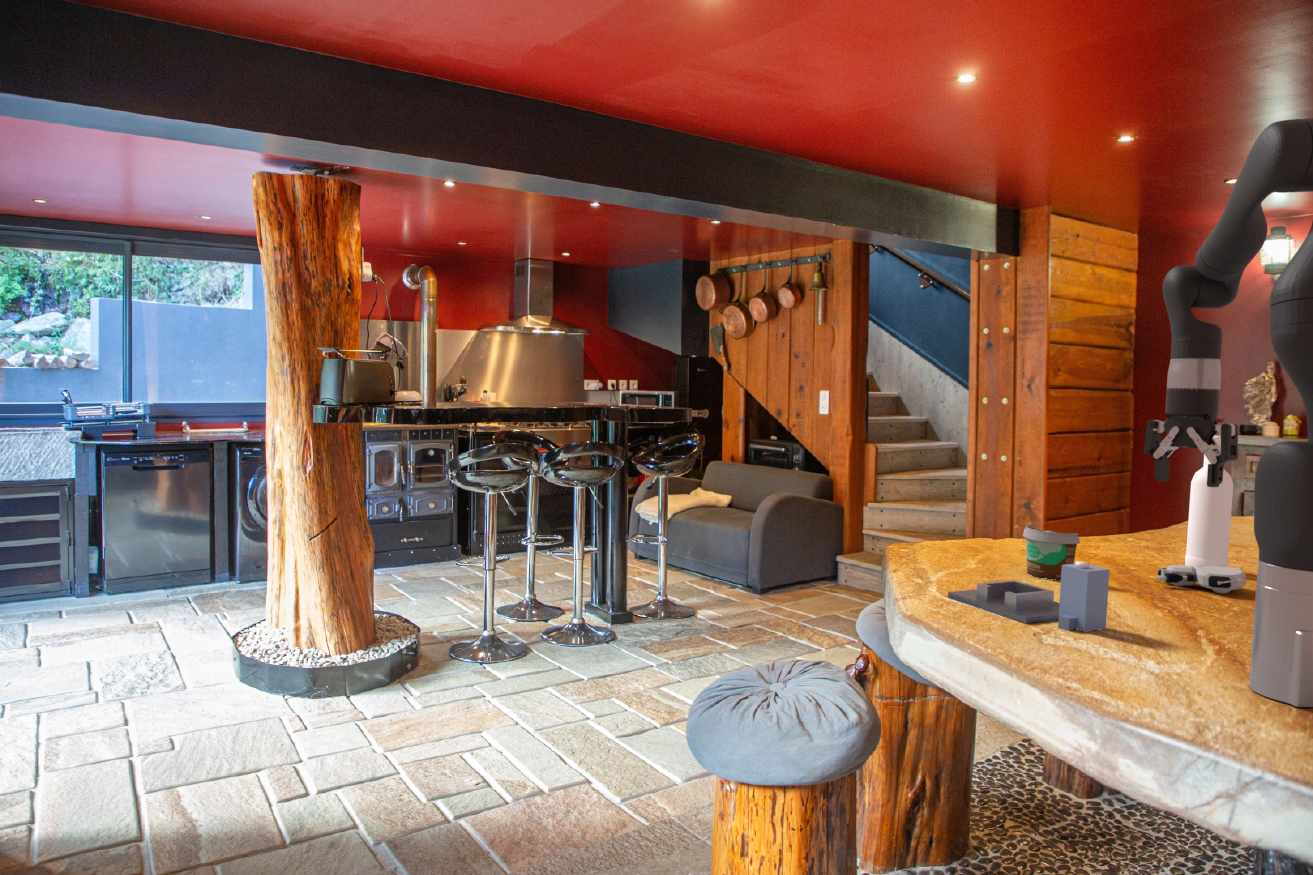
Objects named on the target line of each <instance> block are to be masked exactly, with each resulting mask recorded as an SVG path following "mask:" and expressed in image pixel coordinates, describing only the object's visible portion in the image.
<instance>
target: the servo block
mask: <svg viewBox="0 0 1313 875" xmlns="http://www.w3.org/2000/svg"><path fill="white" fill-rule="evenodd" d="M1109 579H1110V569H1109V568H1105V567H1101V566H1098V565H1093V564H1090V562H1087V561H1082V560H1081V561H1080V560H1079V561H1075V562H1074V564H1067V565H1062V571H1061V581H1060V586H1059V587H1060V589H1059V603H1060V604H1059V620H1057V621H1058V622H1057V624H1058V625H1057V627H1059V628H1058V629H1062V630H1064V629H1066V630H1065V631H1067V630H1071V631H1074V630H1073V629H1078V630H1081V631H1083V632H1082V633H1088V632H1087V631H1091V632H1093V631H1092V630H1098V631H1100V630H1099V629H1105V630H1106V628H1107V613H1108V598H1109V597H1108V596H1109V583H1110V582H1109V581H1110V580H1109ZM1078 630H1077V631H1078ZM1081 631H1080V632H1081Z"/></svg>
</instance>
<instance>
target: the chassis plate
mask: <svg viewBox="0 0 1313 875" xmlns="http://www.w3.org/2000/svg"><path fill="white" fill-rule="evenodd" d="M947 598H948V599H951V600H954V601H957V602H961V603H963V604H966V605H969V606H973V607H975V608H978V609H980V608H982V609H981V610H983V609H985V610H984V611H986V610H987V611H986V612H990V613H992V612H994V613H993V614H995V613H996V615H998V614H999V616H1002V617H1004V616H1006V617H1005V618H1007V617H1008V619H1010V618H1011V619H1010V620H1013V621H1016V622H1019V621H1021V622H1020V623H1022V622H1023V623H1022V624H1025V623H1028V624H1034V623H1033V622H1036V623H1042V622H1041V621H1044V622H1050V621H1057V620H1056V619H1059V604H1060V602H1057V601H1054V600H1055V599H1054V598H1055V591H1054V590H1050V589H1047V588H1045V587H1044V588H1043V587H1041V586H1040V587H1039V586H1037V585H1033V584H1028V583H1026V582H1022V581H1018V580H1015V579H1010V580H1008V579H1007V580H999V581H988V582H987V581H986V582H980V583H979V582H977V583H976V589H975V588H974V589H968V590H967V589H965V590H956V591H955V590H954V591H948V592H947Z"/></svg>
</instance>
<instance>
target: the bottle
mask: <svg viewBox="0 0 1313 875" xmlns="http://www.w3.org/2000/svg"><path fill="white" fill-rule="evenodd" d="M1213 438H1214V439H1215V441H1216V442H1217V444H1218V445H1219V447H1220V451H1221V437H1220V436H1219V435H1215V436H1214V437H1213ZM1208 464H1211V463H1210V462H1209V460H1208V459H1207V457H1206V456H1205V454H1204V453H1203V466H1202V467H1201V468H1200V469H1198V470H1197V471H1196V472H1194V475H1193V477H1192V479H1191V482H1190V492H1189V494H1190V495H1189V507H1188V509H1189V510H1188V520H1187V521H1188V522H1187V533H1186V534H1187V537H1186V538H1187V539H1186V550H1185V551H1186V552H1185V557H1184V563H1185V564H1184V565H1187V566H1193V567H1194V568H1195V569H1196V570H1198V569H1199V568H1201V567H1204V566H1220V567H1229V552H1230V538H1231V537H1230V536H1231V524H1232V523H1231V521H1232V508H1233V507H1232V506H1233V494H1234V482H1233V478H1232V476H1231V474H1230V473H1229V472H1227V470H1225V468H1224V469H1223V481H1222V483H1221V484H1219V487H1208V486H1207V473H1208Z"/></svg>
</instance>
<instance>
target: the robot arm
mask: <svg viewBox="0 0 1313 875" xmlns="http://www.w3.org/2000/svg"><path fill="white" fill-rule="evenodd" d="M1308 192H1309V193H1310V192H1313V117H1312V118H1292V119H1284V120H1279V121H1278V120H1277V121H1274V122H1272V123H1270V124H1269V125H1267V127H1265V128H1264V129H1263V130H1262V131H1261V133H1260V134H1259V136H1258V137H1257V138H1256V140H1255V141H1254V142H1253V145H1252V146H1251V148H1250V150H1249V152H1248V154H1247V156H1246V159H1245V161H1244V163H1243V165H1242V168H1241V170H1240V173H1239V175H1238V177H1237V179H1236V182H1235V184H1234V186H1233V188H1232V190H1231V193H1230V195H1229V198H1228V201H1227V203H1226V205H1225V207H1224V210H1223V212H1222V214H1221V216H1220V217H1219V219H1218V221H1217V223H1216V224H1215V226H1214V227H1213V229H1212V230H1211V231H1210V233H1209V234H1208V236H1207V237H1206V238H1205V240H1204V241H1203V242H1202V244H1201V246H1200V247H1199V249H1198V250H1197V251H1196V254H1195V257H1194V263H1195V264H1194V265H1193V264H1184V265H1183V264H1182V265H1176V266H1175V267H1173V268H1171V269H1170V270H1169V271H1168V272H1167V273H1166V275H1165V276H1164V279H1163V282H1162V289H1161V290H1162V296H1163V301H1164V305H1165V307H1166V311H1167V315H1168V319H1169V324H1170V325H1169V326H1170V331H1171V346H1170V347H1171V348H1170V361H1169V366H1168V371H1167V382H1166V396H1165V409H1164V410H1165V415H1166V418H1165V421H1162V420H1160V419H1148V421H1147V422H1146V430H1145V431H1146V432H1145V436H1144V438H1145V440H1144V446H1143V453H1144V454H1145V455H1150V456H1151V457H1153V458H1154V473H1153V474H1154V477H1155V478H1156V481H1158V482H1168V481H1169V480H1170V479H1169V477H1170V463H1171V462H1170V461H1171V460H1170V459H1168V458H1169V457H1170V456H1171V455H1172V454H1173V453H1174V451H1177V450H1178V449H1179V448H1188V449H1198V450H1199V451H1200V452H1201V453H1202V454H1203V455H1204V454H1205V456H1206V457H1207V459H1208V460H1209V462H1210V463H1211V464H1208V473H1207V486H1208V487H1219V484H1221V483H1222V481H1223V469H1224V470H1225V468H1224V466H1225V465H1226V464H1227V463H1229V462H1230V463H1231V462H1233V461H1234V462H1235V461H1237V460H1238V457H1239V425H1238V424H1236V423H1222V424H1219V423H1218V419H1217V418H1218V415H1219V413H1220V399H1221V398H1220V397H1221V384H1222V367H1221V355H1222V342H1223V341H1222V340H1223V331H1222V330H1223V329H1222V328H1221V327H1220V325H1218V324H1215V323H1212V322H1207V321H1203V320H1200V319H1198V318H1197V317H1195V315H1194V313H1193V311H1192V309H1211V310H1212V309H1222V308H1224V307H1226V306H1228V305H1230V304H1231V303H1233V302H1234V301H1235V299H1236V298H1237V296H1238V293H1239V287H1240V283H1241V279H1242V277H1243V274H1244V271H1245V269H1246V268H1247V267H1248V265H1249V264H1250V263H1251V262H1252V260H1253V259H1254V258H1256V256H1257V254H1258V253H1259V252H1260V250H1261V249H1262V248H1263V246H1264V245H1265V242H1266V240H1267V236H1268V222H1267V218H1266V215H1265V213H1264V208H1263V206H1262V203H1263V202H1264V201H1265V200H1266V198H1267V197H1269V196H1270V195H1271V194H1273V193H1281V194H1282V193H1283V194H1284V193H1285V194H1286V193H1308ZM1269 297H1270V298H1269V301H1270V302H1269V307H1270V308H1269V316H1270V317H1269V320H1270V327H1269V328H1270V340H1271V345H1272V348H1273V351H1274V353H1275V355H1276V357H1277V359H1278V361H1279V362H1280V364H1281V365H1282V368H1283V369H1284V370H1285V372H1286V374H1287V375H1288V377H1289V378H1290V380H1291V381H1292V383H1293V385H1294V386H1295V388H1296V390H1297V391H1298V393H1299V395H1300V397H1301V399H1302V402H1303V405H1304V410H1305V415H1306V423H1307V440H1306V441H1302V440H1300V441H1297V440H1295V441H1294V440H1292V441H1291V440H1286V441H1280V442H1276V443H1274V444H1271V445H1270V446H1268V447H1267V448H1266V449H1265V450H1264V451H1263V453H1262V454H1261V456H1260V458H1259V459H1258V462H1257V465H1256V470H1255V474H1254V485H1253V486H1254V490H1253V491H1254V492H1253V495H1254V497H1253V498H1254V499H1253V500H1254V501H1253V502H1254V503H1253V504H1254V505H1253V510H1254V511H1253V533H1254V537H1255V541H1256V544H1257V547H1258V560H1257V574H1256V587H1255V599H1254V600H1255V601H1254V610H1253V611H1254V612H1253V628H1252V639H1251V653H1250V654H1251V655H1250V667H1249V669H1250V670H1249V681H1248V682H1249V684H1248V686H1249V688H1250V689H1251V690H1252V691H1253V692H1255V693H1256V694H1259V695H1261V696H1263V697H1266V698H1269V699H1272V700H1275V701H1278V702H1283V703H1286V704H1290V705H1292V707H1293V706H1294V707H1297V708H1299V707H1300V708H1303V707H1304V708H1313V221H1312V224H1311V226H1310V229H1309V231H1308V233H1307V235H1306V237H1305V239H1304V241H1303V242H1302V243H1301V245H1300V246H1299V248H1298V250H1296V252H1295V254H1294V255H1293V256H1292V257H1291V259H1290V260H1289V262H1288V263H1287V264H1286V266H1285V267H1284V269H1283V271H1282V272H1281V273H1280V275H1279V276H1278V277H1277V280H1276V281H1275V283H1274V284H1273V287H1272V290H1271V292H1270V296H1269ZM1164 432H1165V433H1166V436H1165V437H1164V438H1163V439H1162V433H1164ZM1216 435H1217V436H1220V437H1221V451H1220V447H1219V445H1218V444H1217V442H1216V441H1215V439H1214V438H1213V437H1214V436H1216Z"/></svg>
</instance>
